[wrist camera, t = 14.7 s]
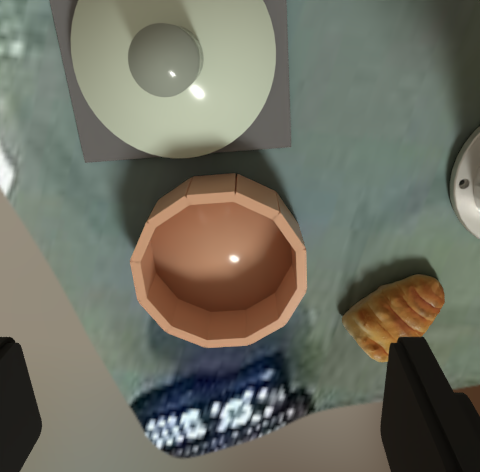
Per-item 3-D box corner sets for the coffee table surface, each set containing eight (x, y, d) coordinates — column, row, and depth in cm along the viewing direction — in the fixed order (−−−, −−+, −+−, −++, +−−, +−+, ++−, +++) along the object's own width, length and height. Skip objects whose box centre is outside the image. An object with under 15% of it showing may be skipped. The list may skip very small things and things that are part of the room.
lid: (269, -71, 31) (275, -93, 26) (279, 147, 37) (286, 167, 32) (53, -49, 32) (13, -67, 26) (97, 162, 38) (73, 183, 32)
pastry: (410, 252, 42) (426, 272, 38) (455, 296, 44) (473, 319, 40) (333, 315, 45) (341, 339, 41) (378, 354, 46) (389, 380, 43)
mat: (283, -70, 32) (283, -72, 31) (290, 145, 38) (291, 146, 37) (42, -48, 32) (39, -49, 32) (87, 160, 38) (85, 162, 38)
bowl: (297, 168, 38) (304, 186, 34) (301, 310, 44) (308, 341, 39) (132, 180, 39) (117, 200, 34) (157, 318, 45) (147, 351, 40)
